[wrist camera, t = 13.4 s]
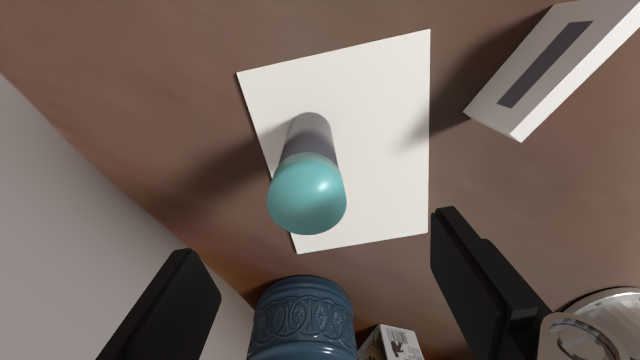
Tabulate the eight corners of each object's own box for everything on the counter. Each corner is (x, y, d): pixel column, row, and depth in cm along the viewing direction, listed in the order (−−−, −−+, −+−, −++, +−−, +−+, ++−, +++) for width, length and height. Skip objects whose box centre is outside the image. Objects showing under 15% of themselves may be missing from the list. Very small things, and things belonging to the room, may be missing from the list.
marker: (327, 106, 21) (339, 161, 11) (335, 149, 23) (351, 228, 13) (281, 116, 21) (255, 177, 12) (293, 158, 23) (279, 240, 14)
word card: (564, 14, 19) (663, 4, 13) (472, 118, 22) (521, 143, 17) (553, 3, 18) (651, -12, 13) (461, 111, 22) (508, 133, 17)
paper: (428, 29, 19) (430, 28, 18) (426, 230, 28) (427, 232, 28) (237, 72, 20) (236, 72, 20) (297, 251, 30) (297, 254, 29)
